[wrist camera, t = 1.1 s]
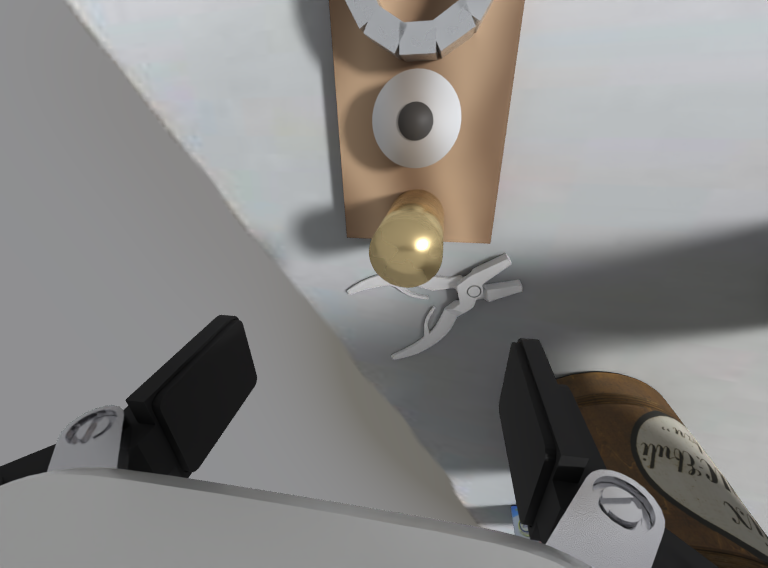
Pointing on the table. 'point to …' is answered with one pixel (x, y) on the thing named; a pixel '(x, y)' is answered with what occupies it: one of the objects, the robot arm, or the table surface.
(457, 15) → the ring
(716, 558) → the wooden container
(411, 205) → the brass peg
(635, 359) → the table surface
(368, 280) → the pliers
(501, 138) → the fitting board
